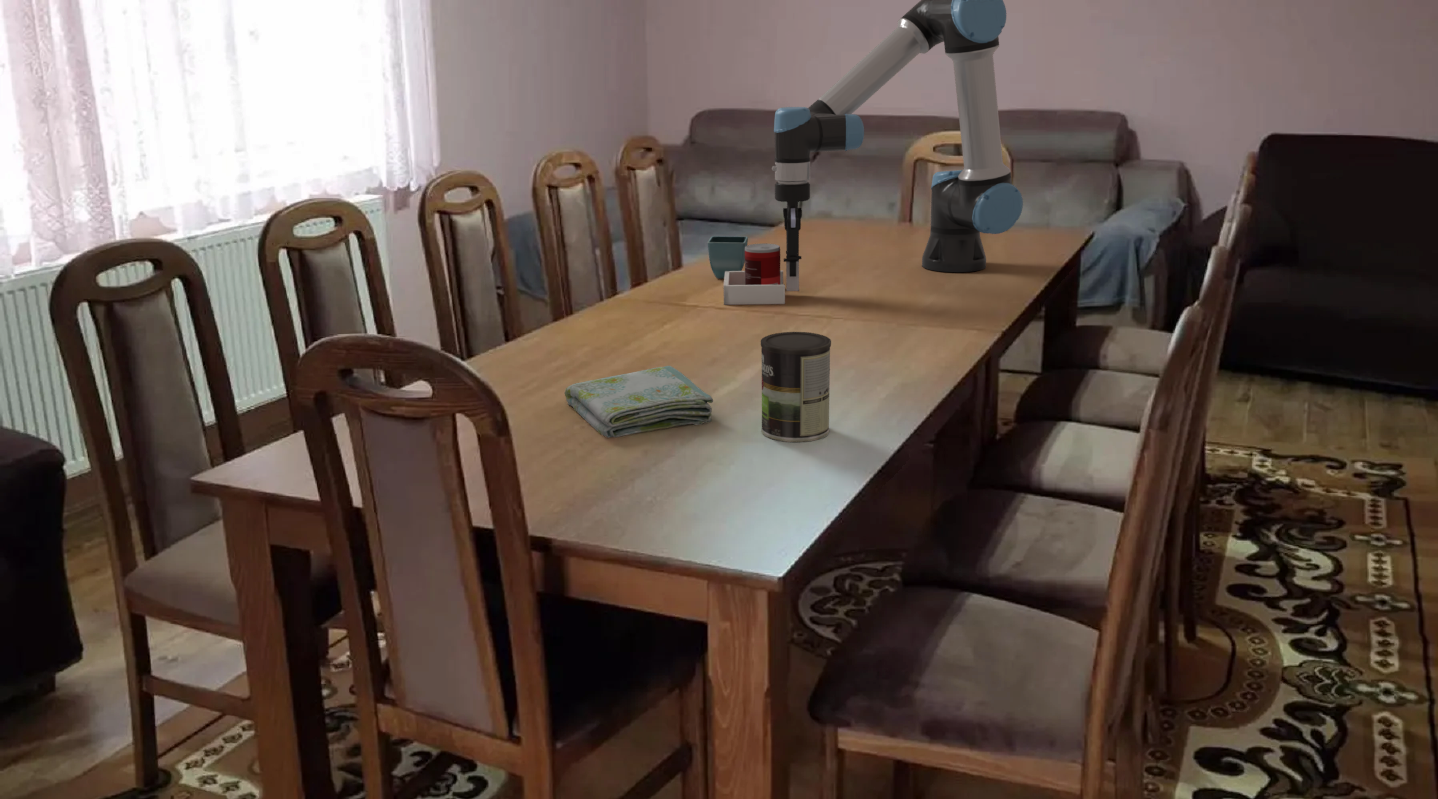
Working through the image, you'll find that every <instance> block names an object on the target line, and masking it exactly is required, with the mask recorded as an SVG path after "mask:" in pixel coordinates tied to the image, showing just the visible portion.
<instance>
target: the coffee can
mask: <svg viewBox="0 0 1438 799" xmlns="http://www.w3.org/2000/svg"><path fill="white" fill-rule="evenodd" d="M831 346H832V340H831V338H830V337H828V336H825V335H823V334H819V333H816V332H815V333H814V332H808V331H784V332H778V333H773V334H772V333H771V334H768V335H765V336H763V337H762V338H761V339H760V347H761V431H760V432H761V434H762V435H763V436H764V437H766V438H767V439H771V440H775V441H778V442H783V443H805V442H812V441H813V442H814V441H817V440H821V439H824V438H825V437H826V436H828V435H829V433H830V379H831V378H830V376H831V375H830V374H831V371H830V370H831Z"/></svg>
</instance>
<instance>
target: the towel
mask: <svg viewBox="0 0 1438 799" xmlns="http://www.w3.org/2000/svg"><path fill="white" fill-rule="evenodd" d="M564 396H565V400H566V402H567V404H568V406H570V407H573V410H574V411H575V412H577V413H578V414H579V415H580V416H581V417H582V418H583V419H584V420H585V421H586V422H587V423H588V424H589V425H590V426H591V427H592V428H593V429H595V431H597V432H598V433H599V434H600V435H602V436H603V437H605V438H607V439H610V438H612V437H613V438H620V437H625V436H630V435H632V434H633V435H634V434H638V433H644V432H652V431H658V430H661V429H662V430H663V429H664V430H665V429H668V428H669V429H670V428H673V427H679V426H686V425H695V426H698V425H703V423H710V422H711V421H712V412H713V410H712V408H713V407H711V405H710V404H712V403H713V402H714V399H713V397H712V396H711V395H710V394H708V393H707V392H704V391H703V390H702V389H701V388H700V387H698V386H697V385H696V384H695V383H694V382H693V381H692V380H691V379H690V378H688V377H687V376H685V375H684V374H683V373H682V372H681V371H679V370H678V369H677V368H674V366H671V365H665V366H659V367H658V366H657V367H653V368H647V369H644V370H638V371H633V372H629V373H623V374H617V375H612V376H606V377H603V378H602V377H601V378H597V379H591V380H586V381H582V382H577V383H573V384H571V385H568V386H567V387H566V388H565V389H564Z"/></svg>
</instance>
